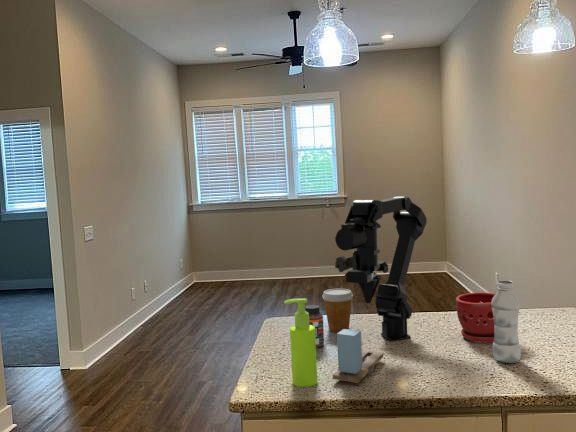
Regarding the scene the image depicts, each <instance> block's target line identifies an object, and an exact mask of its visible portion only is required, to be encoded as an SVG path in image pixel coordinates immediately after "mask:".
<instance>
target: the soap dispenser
mask: <svg viewBox="0 0 576 432" xmlns="http://www.w3.org/2000/svg"><path fill="white" fill-rule="evenodd" d="M283 303H284V305H290V304H297V311H296V312H294V325H293V326H292V325H291V326H290V327H289V335H290V336H289V337H290V354H291V356H290V357H291V374H292V375H291V376H292V378H291V379H292V384H293V385H294V386H296V387H301V388H307V387H312V386H314V385H316V384H317V383H318V367H317V362H318V361H317V348H316V341H315V327H314V326H312V325H309V313H308V312H307V311H305V307H306V303H308V299H307V298H304V297H302V298H301V297H299V298H298V297H297V298H295V297H294V298H289V299H286V300H284V301H283Z"/></svg>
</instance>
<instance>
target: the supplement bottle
mask: <svg viewBox="0 0 576 432" xmlns="http://www.w3.org/2000/svg"><path fill="white" fill-rule="evenodd" d="M305 311H307V312H308V313H309V325H312V326H314V327H315V341H316V349H317V348H321V347H323V346H324V344H325V333H324V316H323V315H324V314H322V313H321V312H320V306H319V305H316V304H310V305H309V304H308V305H305Z"/></svg>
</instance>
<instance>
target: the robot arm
mask: <svg viewBox="0 0 576 432" xmlns="http://www.w3.org/2000/svg"><path fill="white" fill-rule="evenodd" d="M390 213H393V214H392V218H393V220H394V222H395V224H396V225H395V229H396V232H397V235H398V239H397V242H396V247H395V249H394V254H393V258H392V261H391V266H390V269H389V264H388V263H387V262H386V261H378V260H379V259H378V255H379V254H380V253H381V252H380V251H381V249H380V248H378V229H380V228H382V227H381V224H380V223H378V222H377V221H378V220H380V219H382V218H383V216H384V215H386V214H390ZM427 221H428V220H427V216H426V215H425V212H424V211H423V209H422V208H421V207H419V206H418V205H417V204H415V203H414V202H413V201H412V200H411V198H410V197H408V196H406V195H405V196H401V195H400V196H394V197H390V198H384V199H380V200H378V199H355V200H353V202H352V205H351V207H350V208H349V212H348V214H347V217H346V219H345V221H344V223H342V224H340V226H341V228H340V229H339V230H338V231H337V232H336V234H335V235H336V236H335V237H334V240H335V243H336V246H337V248H338V249H340V250H341V251H349V250H350V251H351V250H353V251H352V255H350V256H349V257H345V256H344V255H342V256H339V257H337V258H336V259H335V262H334V263H335V265H334V268H335V269H337V270H338V272H339V273H342V272H344V271H346V273H345V274H344V282H345V283H354V284H358V285H359V287H360V289H361V292H362V295H363V298H364V301H365V303H366V304H370V303H372V300H373V298H374V295H375V300H374V304H375V308H376V312H377V315H378V316H379V317H382V321H381V333H380V336H381V337H383V338H386V339H387V340H389V341H392V342H393V341H398V340H404V339H408V338H411V335H410V334H408V319H411V317H412V314H413V308H412V306H411V305H410V304H409V303H408V301H407V299H408V294H407V291H406V288H405V284H406V279H407V275H408V270H409V266H410V263H411V259H412V255H413V252H414V247H415V242H416V241H417V240H418V239H419V238H420V237H421V236H422V235H423V233H424V230H425V227H426V225H427ZM349 269H350V270H349ZM377 272H383V274H387V273H389V274H388V278H387V280H386V281H385V283H380V280H381V279H382V277H383V276H382V275H378V273H377ZM376 290H377V291H376ZM376 292H377V293H376ZM375 293H376V294H375Z"/></svg>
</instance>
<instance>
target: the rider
mask: <svg viewBox="0 0 576 432" xmlns="http://www.w3.org/2000/svg"><path fill="white" fill-rule="evenodd" d="M336 341H337V342H336V343H337V344H336V345H337V362H338V363H337V364H338V365H337V366H338V368H337V370H338V369H339V371H340V372H347V375H350V374H351V373H353V374H357V373H358V372H359V371H360V370H361V369H362V363H363V361H362V346H363V345H362V330H358V329H350V328H349V329H343V330H341V331H340V332H336Z"/></svg>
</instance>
